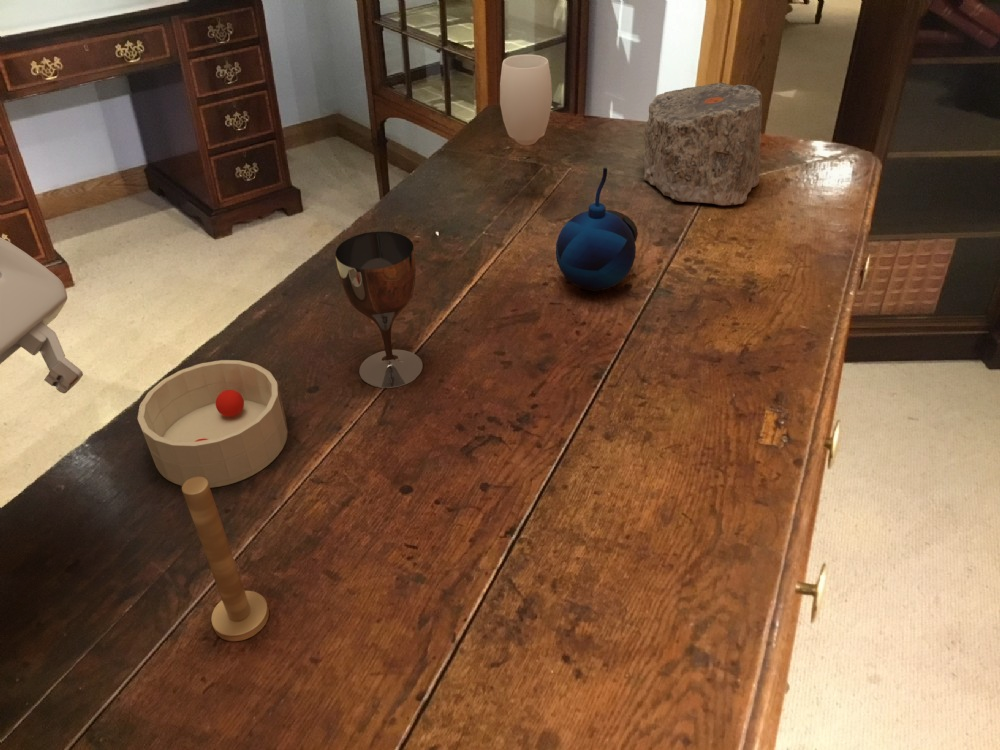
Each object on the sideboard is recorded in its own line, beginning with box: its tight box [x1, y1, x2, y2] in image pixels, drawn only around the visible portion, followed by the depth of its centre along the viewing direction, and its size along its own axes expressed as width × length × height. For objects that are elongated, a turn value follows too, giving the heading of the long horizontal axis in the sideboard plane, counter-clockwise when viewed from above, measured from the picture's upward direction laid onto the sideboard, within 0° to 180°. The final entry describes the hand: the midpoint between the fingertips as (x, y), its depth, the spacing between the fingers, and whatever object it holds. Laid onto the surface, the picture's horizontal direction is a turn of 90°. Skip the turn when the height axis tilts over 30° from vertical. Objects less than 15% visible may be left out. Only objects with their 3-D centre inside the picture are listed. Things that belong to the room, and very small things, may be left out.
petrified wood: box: [643, 82, 763, 206], centre depth 126 cm, size 19×17×15 cm
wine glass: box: [335, 231, 424, 389], centre depth 91 cm, size 8×8×15 cm
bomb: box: [555, 167, 639, 292], centre depth 104 cm, size 10×11×15 cm
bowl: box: [137, 359, 289, 489], centre depth 85 cm, size 13×13×6 cm
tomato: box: [216, 390, 244, 417], centre depth 88 cm, size 3×3×3 cm
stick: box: [181, 477, 270, 642], centre depth 64 cm, size 4×4×15 cm
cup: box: [499, 53, 553, 146], centre depth 121 cm, size 7×7×21 cm
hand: (30, 426), depth 59 cm, fingers open, 8 cm apart
